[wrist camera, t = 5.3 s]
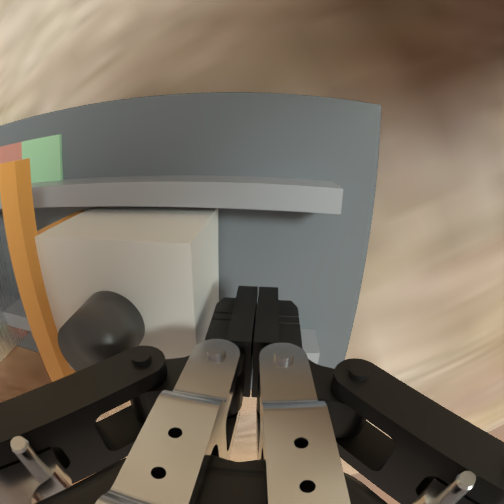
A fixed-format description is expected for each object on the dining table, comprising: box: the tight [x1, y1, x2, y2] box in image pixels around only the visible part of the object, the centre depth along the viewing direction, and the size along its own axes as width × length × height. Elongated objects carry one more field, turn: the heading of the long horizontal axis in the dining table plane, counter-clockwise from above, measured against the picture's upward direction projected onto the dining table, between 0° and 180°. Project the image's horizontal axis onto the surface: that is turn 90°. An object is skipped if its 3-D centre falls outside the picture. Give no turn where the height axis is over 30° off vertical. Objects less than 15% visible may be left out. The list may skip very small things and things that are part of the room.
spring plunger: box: [35, 206, 219, 372], centre depth 11 cm, size 6×6×7 cm
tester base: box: [0, 92, 381, 390], centre depth 15 cm, size 16×24×4 cm, turn 88°
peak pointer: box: [0, 158, 86, 382], centre depth 12 cm, size 12×1×5 cm, turn 178°
